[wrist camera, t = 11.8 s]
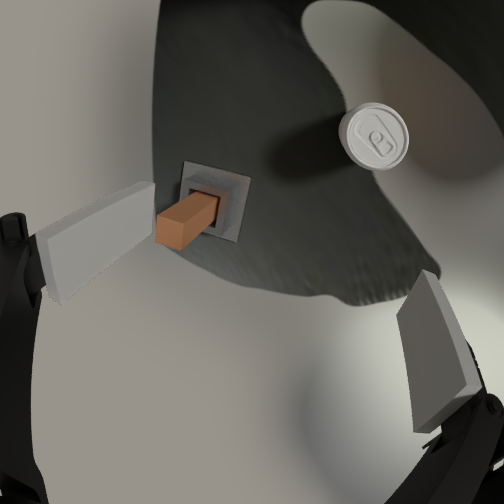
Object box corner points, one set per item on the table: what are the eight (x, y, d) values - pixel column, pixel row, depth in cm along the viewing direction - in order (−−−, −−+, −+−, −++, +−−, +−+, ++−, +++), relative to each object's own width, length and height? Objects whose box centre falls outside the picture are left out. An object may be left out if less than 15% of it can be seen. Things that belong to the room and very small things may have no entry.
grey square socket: (186, 160, 46) (174, 164, 43) (252, 176, 45) (244, 182, 41) (178, 221, 52) (167, 230, 48) (238, 240, 51) (230, 251, 47)
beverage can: (364, 96, 34) (377, 87, 24) (400, 137, 35) (425, 144, 25) (327, 130, 38) (326, 133, 28) (363, 169, 39) (375, 187, 29)
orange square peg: (201, 188, 47) (157, 215, 35) (223, 194, 46) (183, 223, 34) (198, 209, 49) (155, 242, 37) (219, 215, 48) (180, 251, 36)
